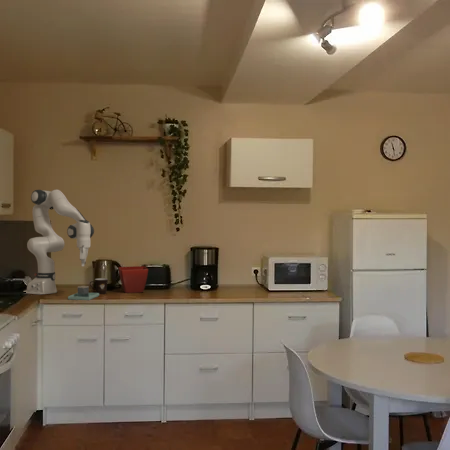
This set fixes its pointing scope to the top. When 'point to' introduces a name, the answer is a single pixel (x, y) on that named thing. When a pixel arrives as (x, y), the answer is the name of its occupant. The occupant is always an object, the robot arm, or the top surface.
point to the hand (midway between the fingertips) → (83, 265)
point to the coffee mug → (100, 285)
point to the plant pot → (133, 278)
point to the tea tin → (83, 291)
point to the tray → (75, 297)
